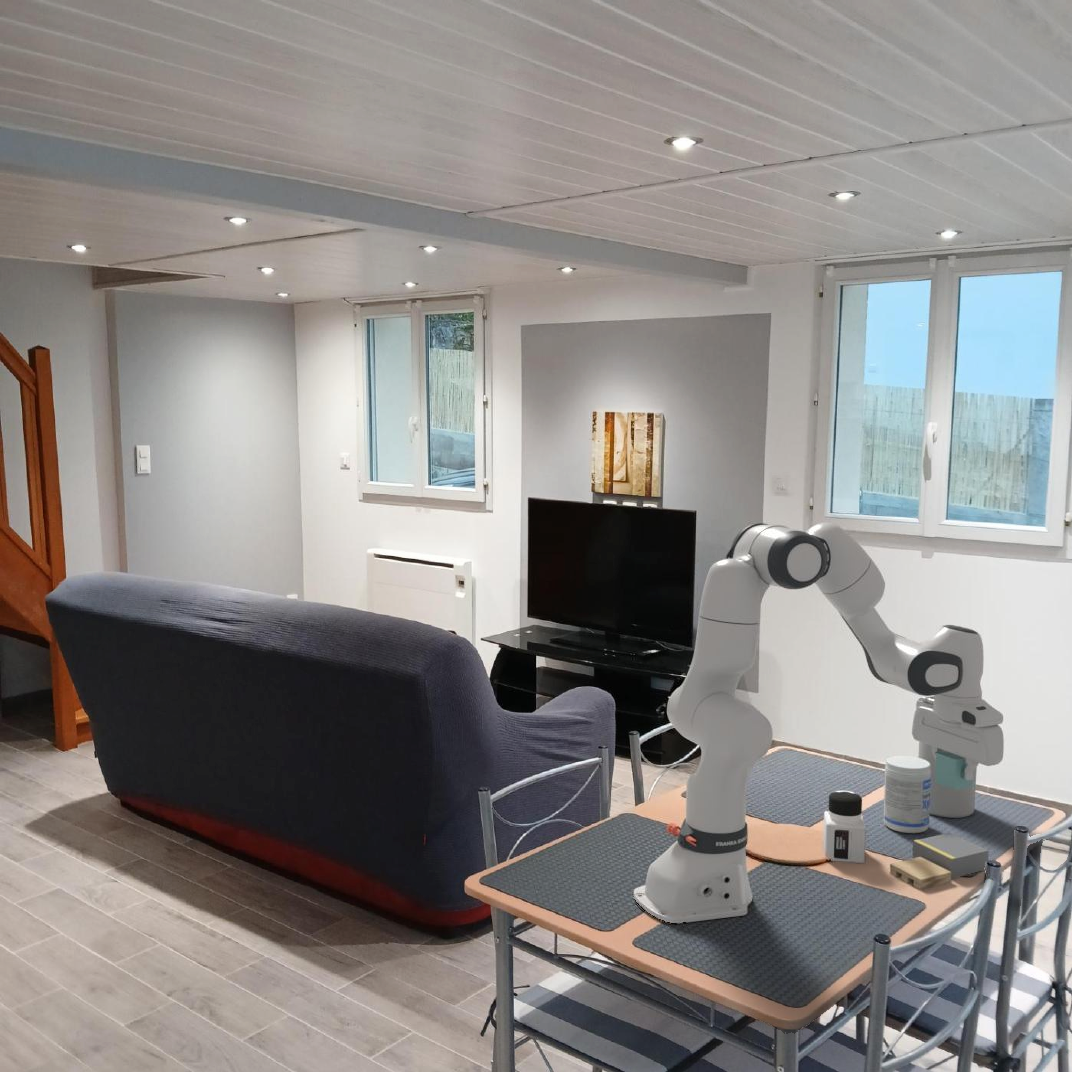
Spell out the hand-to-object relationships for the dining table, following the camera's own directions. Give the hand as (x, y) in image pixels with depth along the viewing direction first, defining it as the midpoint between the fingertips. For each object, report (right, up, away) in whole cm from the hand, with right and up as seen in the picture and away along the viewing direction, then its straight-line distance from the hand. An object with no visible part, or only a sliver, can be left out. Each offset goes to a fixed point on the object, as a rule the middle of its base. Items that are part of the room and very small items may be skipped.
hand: (953, 774), depth 212 cm
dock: (0, -19, +2) cm, 19 cm away
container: (-20, -18, +7) cm, 28 cm away
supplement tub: (-2, -17, +22) cm, 28 cm away
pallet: (-8, -19, -4) cm, 21 cm away
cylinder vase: (+11, -16, +33) cm, 38 cm away
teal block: (0, -2, 0) cm, 2 cm away
